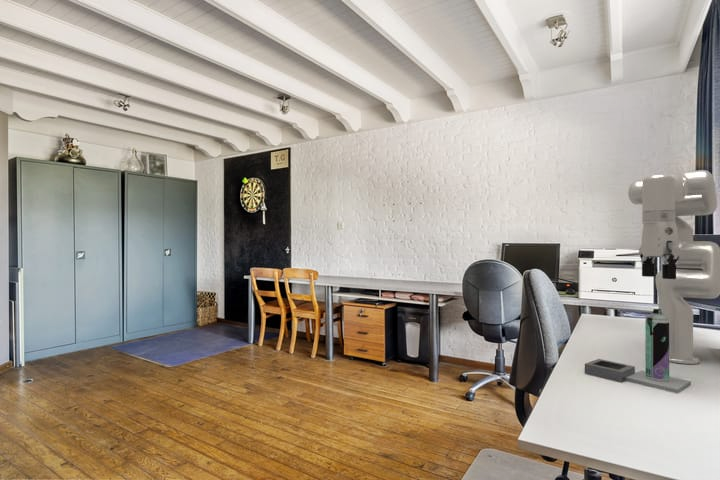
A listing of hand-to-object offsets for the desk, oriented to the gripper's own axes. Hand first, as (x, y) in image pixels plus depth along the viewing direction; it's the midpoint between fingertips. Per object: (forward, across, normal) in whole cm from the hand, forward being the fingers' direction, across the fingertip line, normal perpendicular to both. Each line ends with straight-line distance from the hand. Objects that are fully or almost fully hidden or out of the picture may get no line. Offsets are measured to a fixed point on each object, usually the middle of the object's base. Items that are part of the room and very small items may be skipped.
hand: (658, 277), depth 114 cm
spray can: (+29, 0, 0) cm, 29 cm away
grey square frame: (+30, +5, +11) cm, 32 cm away
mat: (+30, 0, 0) cm, 30 cm away
